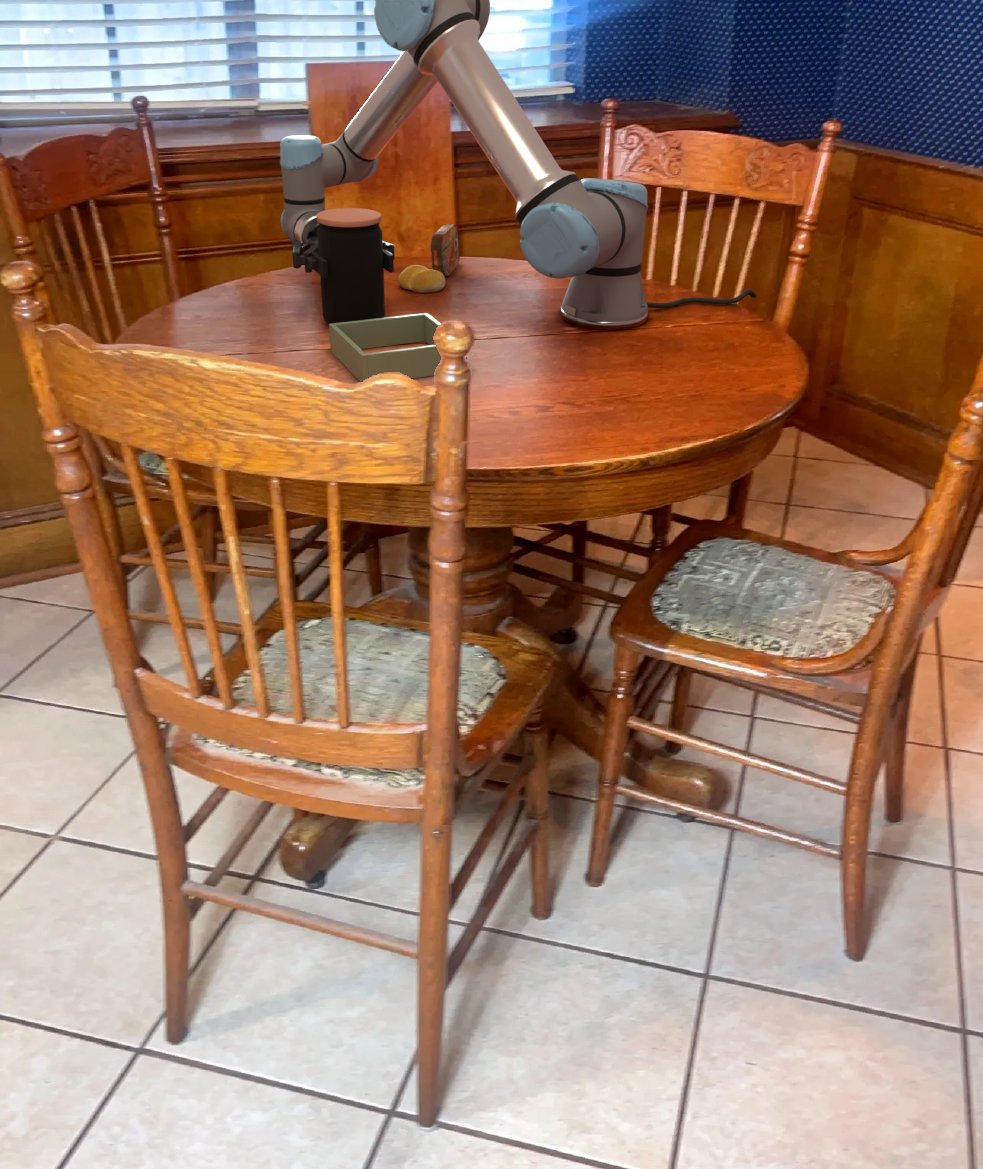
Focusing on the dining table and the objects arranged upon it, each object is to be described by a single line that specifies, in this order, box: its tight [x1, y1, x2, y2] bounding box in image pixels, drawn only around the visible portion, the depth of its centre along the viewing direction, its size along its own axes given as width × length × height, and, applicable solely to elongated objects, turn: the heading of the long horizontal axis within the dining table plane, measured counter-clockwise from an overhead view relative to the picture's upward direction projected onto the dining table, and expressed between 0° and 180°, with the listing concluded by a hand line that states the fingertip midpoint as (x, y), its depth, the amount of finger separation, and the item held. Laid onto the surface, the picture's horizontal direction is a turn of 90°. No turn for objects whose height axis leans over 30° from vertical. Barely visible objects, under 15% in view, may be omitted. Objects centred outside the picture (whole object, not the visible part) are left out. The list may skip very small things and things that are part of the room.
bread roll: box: [398, 264, 446, 294], centre depth 198 cm, size 8×9×4 cm
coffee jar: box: [316, 207, 386, 327], centre depth 174 cm, size 11×11×18 cm
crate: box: [328, 312, 468, 383], centre depth 161 cm, size 17×17×4 cm
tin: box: [430, 223, 461, 277], centre depth 208 cm, size 15×3×8 cm, turn 168°
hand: (358, 266), depth 170 cm, fingers closed on coffee jar, 11 cm apart
